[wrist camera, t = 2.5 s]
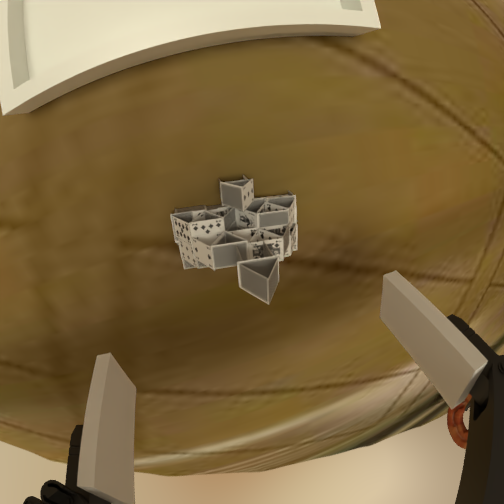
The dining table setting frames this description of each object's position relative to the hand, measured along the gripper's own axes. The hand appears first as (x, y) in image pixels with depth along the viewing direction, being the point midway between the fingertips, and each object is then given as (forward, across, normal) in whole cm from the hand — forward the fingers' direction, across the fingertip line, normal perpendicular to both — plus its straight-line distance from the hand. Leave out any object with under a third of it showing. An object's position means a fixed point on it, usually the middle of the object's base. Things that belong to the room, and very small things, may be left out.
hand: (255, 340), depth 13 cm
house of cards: (+8, +2, +5) cm, 9 cm away
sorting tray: (+7, +1, +23) cm, 24 cm away
